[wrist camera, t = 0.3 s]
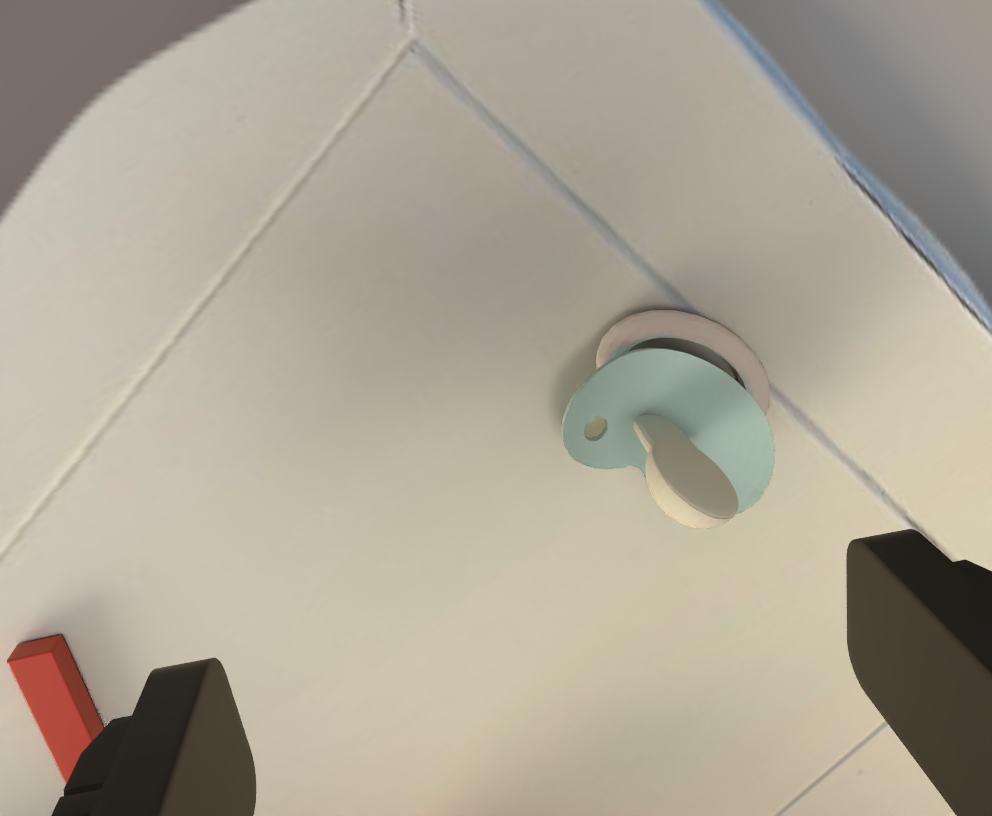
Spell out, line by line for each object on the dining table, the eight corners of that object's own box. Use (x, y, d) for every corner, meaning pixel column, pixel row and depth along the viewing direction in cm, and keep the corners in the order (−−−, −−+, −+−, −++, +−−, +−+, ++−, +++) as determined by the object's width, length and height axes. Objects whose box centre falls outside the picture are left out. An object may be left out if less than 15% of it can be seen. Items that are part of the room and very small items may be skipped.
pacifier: (620, 270, 28) (530, 427, 30) (680, 314, 23) (565, 508, 24) (800, 367, 30) (707, 511, 32) (899, 431, 24) (780, 605, 26)
